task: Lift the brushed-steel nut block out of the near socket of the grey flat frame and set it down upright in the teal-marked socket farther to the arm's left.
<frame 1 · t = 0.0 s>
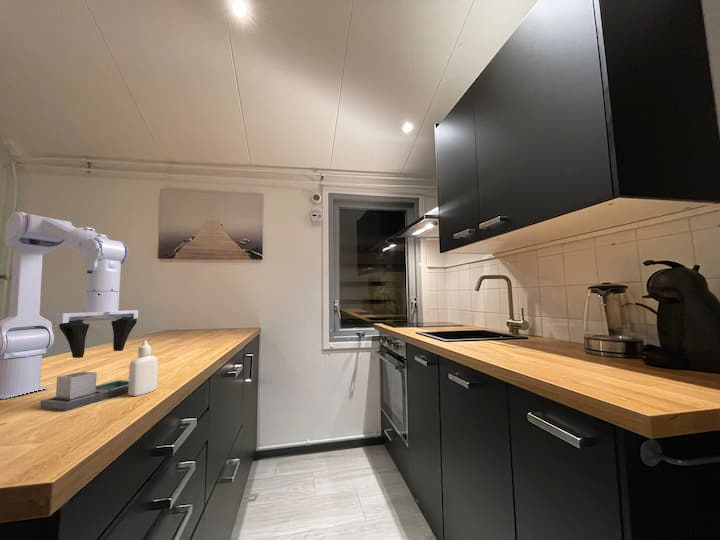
hand: (99, 353, 63), 10 cm above the countertop, tool pointing down, fingers open, 7 cm apart
grey flat frame: (96, 397, 65), on the countertop
eye dropper bottle: (143, 393, 67), on the countertop
nut block: (75, 403, 62), resting in grey flat frame
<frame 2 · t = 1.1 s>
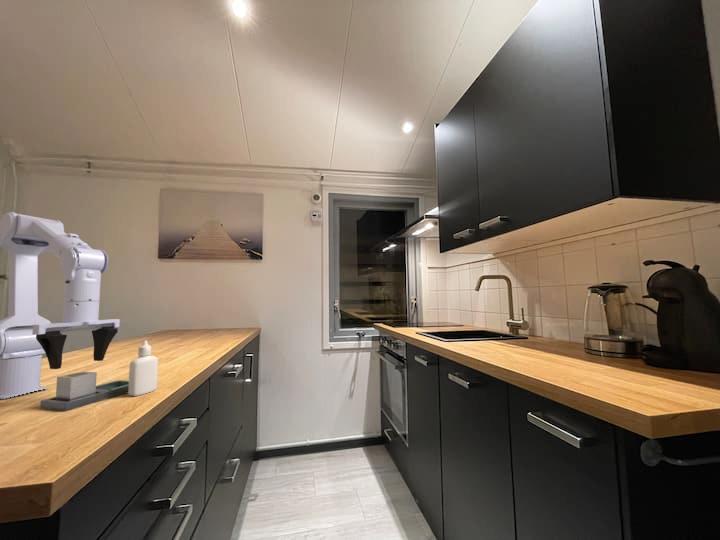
hand: (78, 364, 62), 8 cm above the countertop, tool pointing down, fingers open, 7 cm apart
nothing on the countertop moved.
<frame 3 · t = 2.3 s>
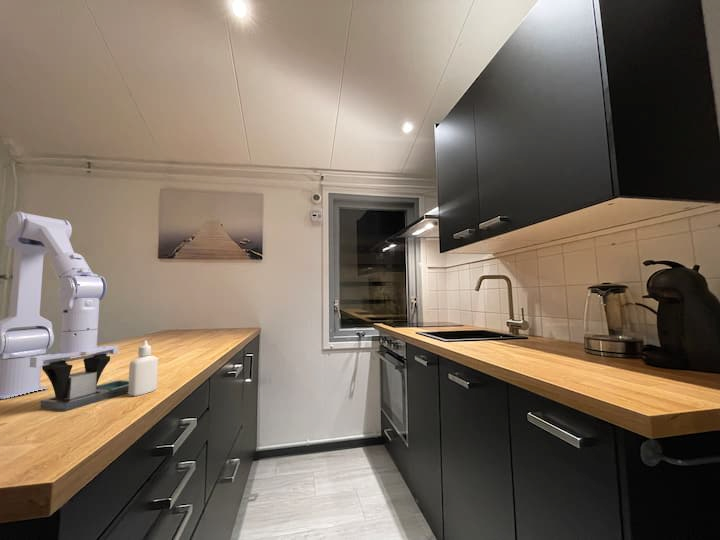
hand: (76, 394, 62), 2 cm above the countertop, tool pointing down, fingers closed on nut block, 4 cm apart
nut block: (75, 403, 62), resting in grey flat frame, touching gripper
everything else where it was.
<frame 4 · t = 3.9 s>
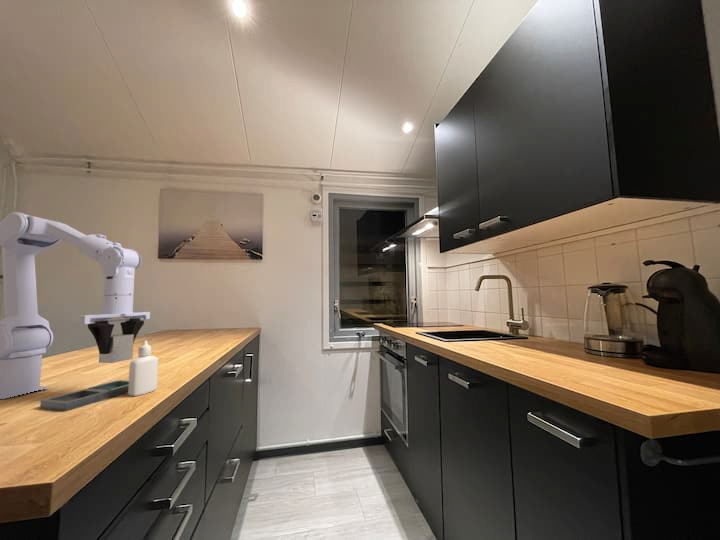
hand: (115, 351, 70), 9 cm above the countertop, tool pointing down, fingers closed on nut block, 4 cm apart
nut block: (116, 360, 69), point 7 cm above the countertop, touching gripper
everything else where it was.
when the fingers open (3 cm above the countertop, at t = 5.6 s): nut block stays where it is, resting on grey flat frame.
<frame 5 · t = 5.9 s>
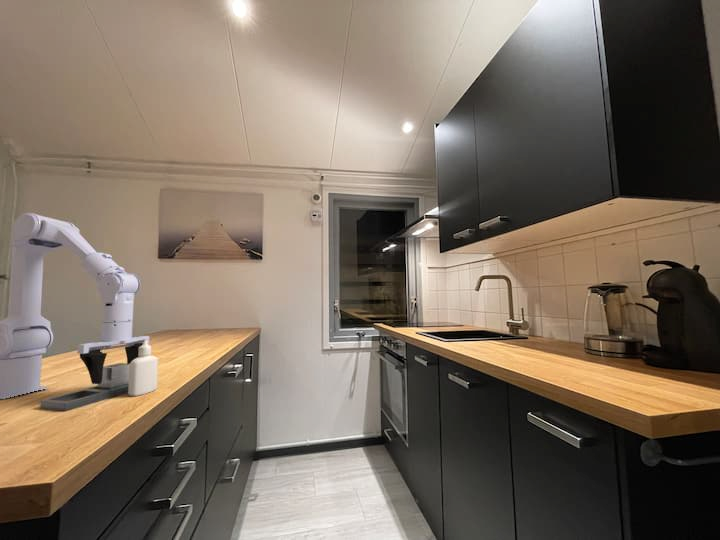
hand: (115, 378, 69), 3 cm above the countertop, tool pointing down, fingers open, 7 cm apart
nut block: (114, 391, 69), resting on grey flat frame
everything else where it was.
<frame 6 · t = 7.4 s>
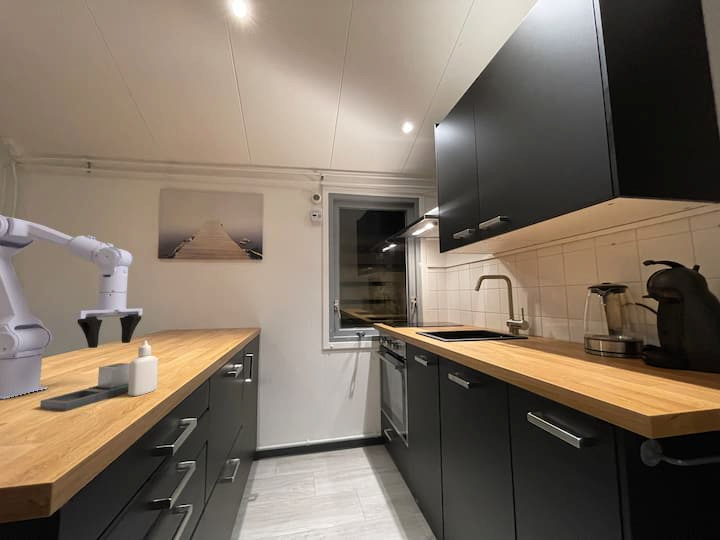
hand: (110, 345, 75), 10 cm above the countertop, tool pointing down, fingers open, 7 cm apart
nothing on the countertop moved.
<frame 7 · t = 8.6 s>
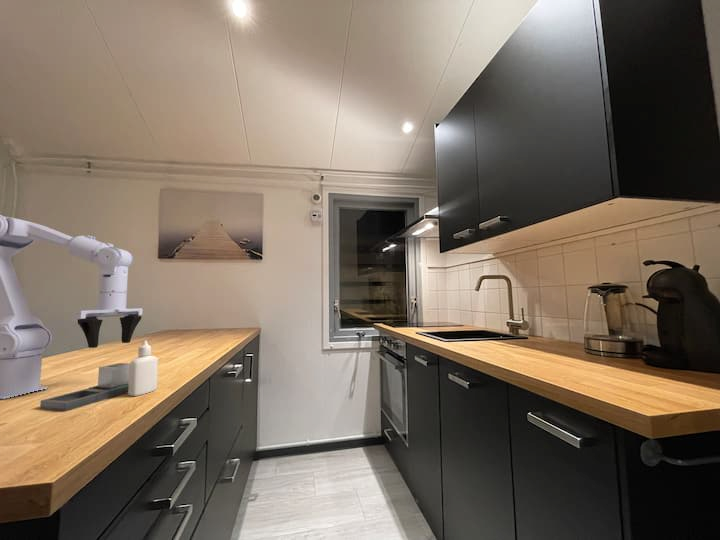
hand: (110, 345, 75), 10 cm above the countertop, tool pointing down, fingers open, 7 cm apart
nothing on the countertop moved.
at the end: nut block 0.2 cm from the target spot on the grey flat frame, point 0.2 cm above the grey flat frame's base; nut block tilted 0°; the gripper is holding nothing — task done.
